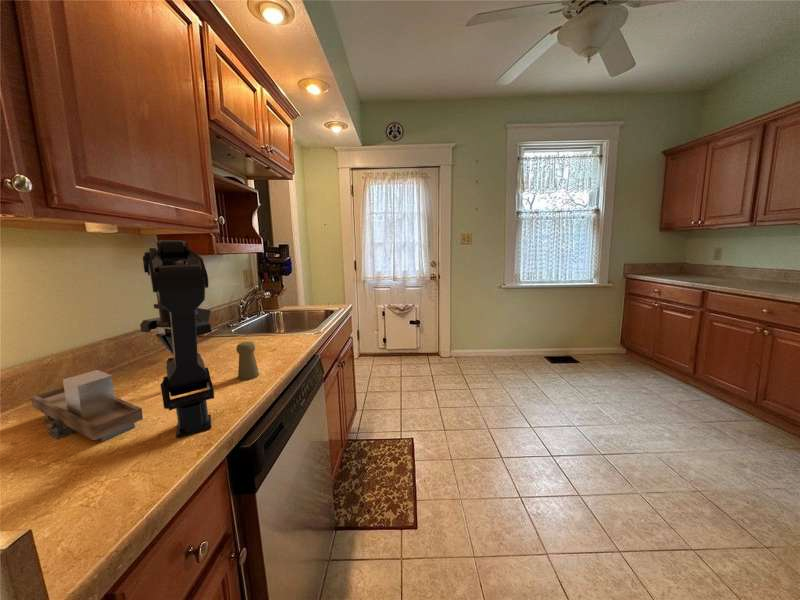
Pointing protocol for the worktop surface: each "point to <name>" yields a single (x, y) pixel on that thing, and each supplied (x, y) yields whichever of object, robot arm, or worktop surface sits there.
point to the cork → (247, 361)
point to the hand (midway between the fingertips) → (180, 359)
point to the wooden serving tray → (93, 426)
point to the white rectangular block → (89, 394)
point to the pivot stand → (64, 431)
